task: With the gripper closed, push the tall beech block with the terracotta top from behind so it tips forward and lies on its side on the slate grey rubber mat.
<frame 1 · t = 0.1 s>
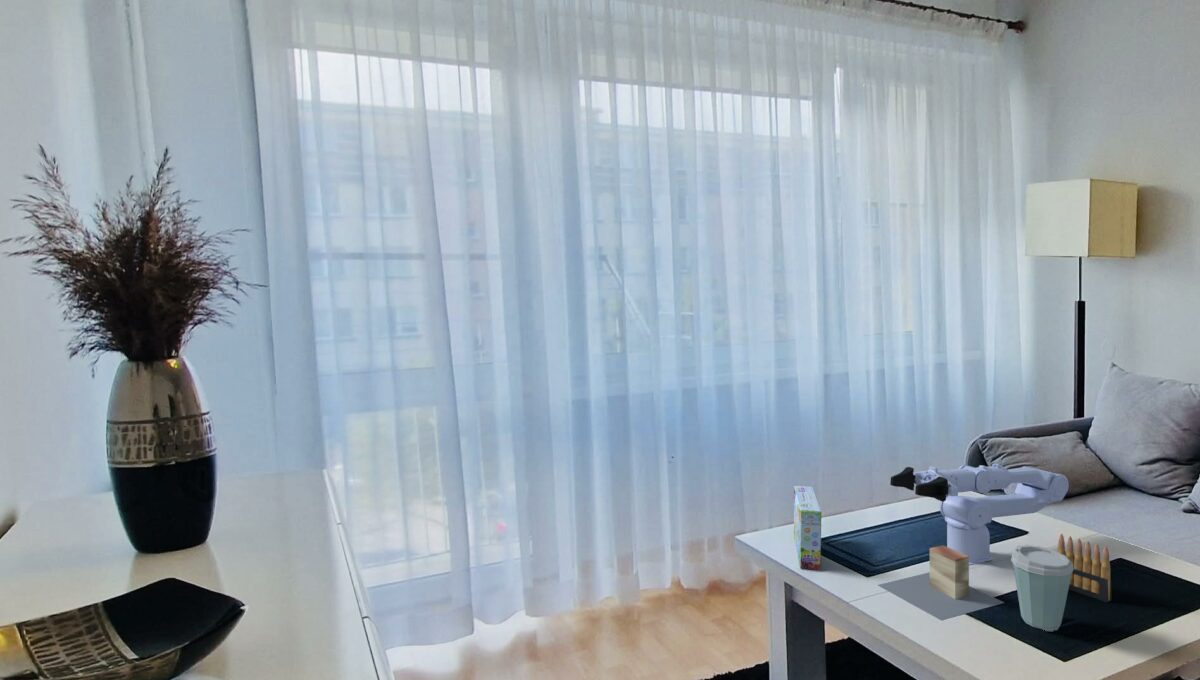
hand: (903, 485, 161), 22 cm above the table, tool horizontal, fingers open, 7 cm apart
ammunition clip: (1082, 593, 150), on the table
snack box: (807, 553, 177), on the table
beech block: (948, 590, 152), resting on rubber mat
disposable coffee cup: (1041, 625, 137), on the table
rubber mat: (938, 595, 151), on the table
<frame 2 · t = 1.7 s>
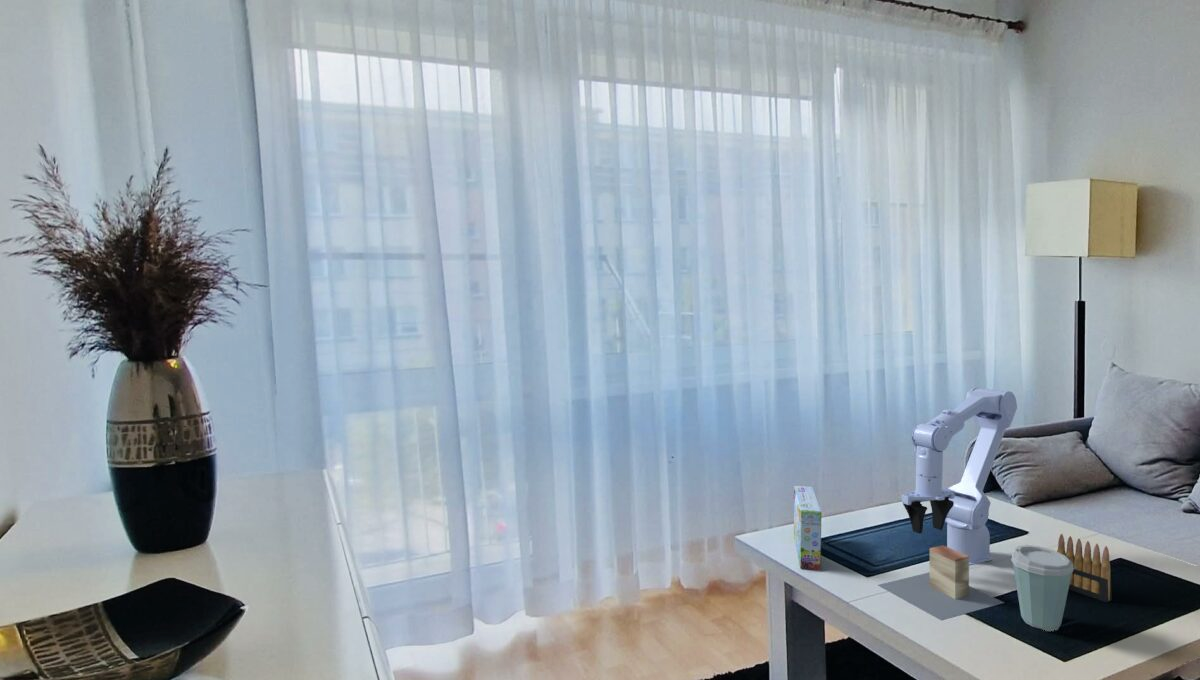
hand: (927, 530, 162), 10 cm above the table, tool pointing down, fingers open, 6 cm apart
nothing on the table moved.
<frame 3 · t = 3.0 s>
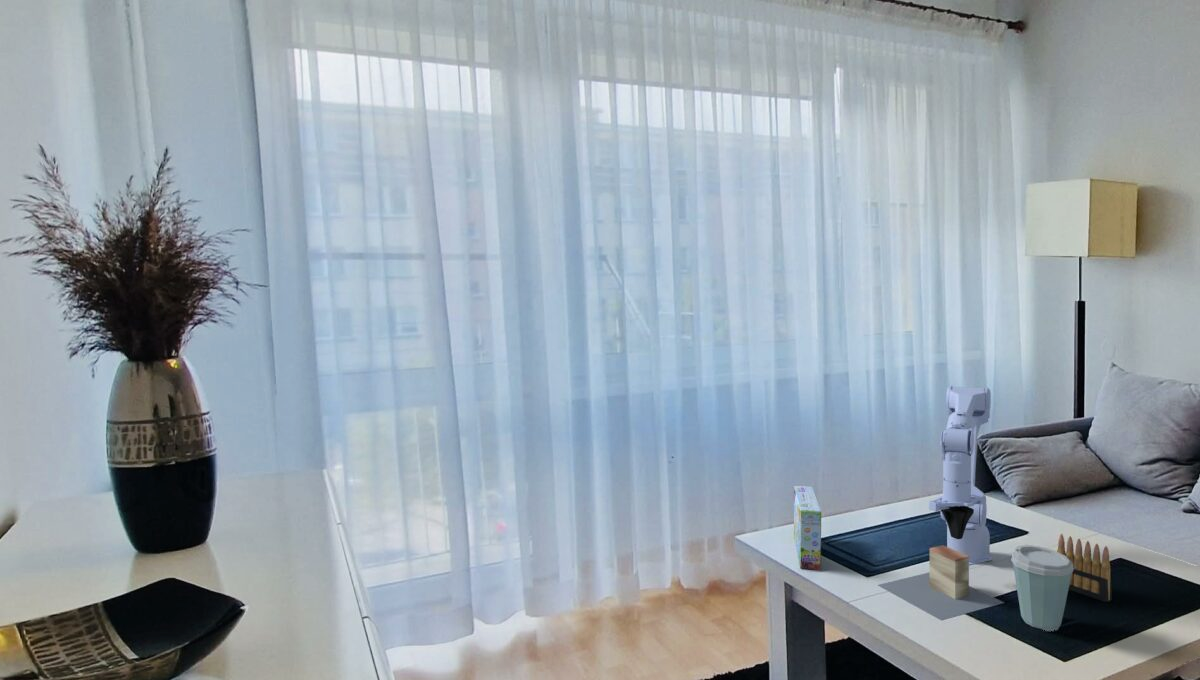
hand: (956, 537, 156), 10 cm above the table, tool pointing down, fingers closed
nothing on the table moved.
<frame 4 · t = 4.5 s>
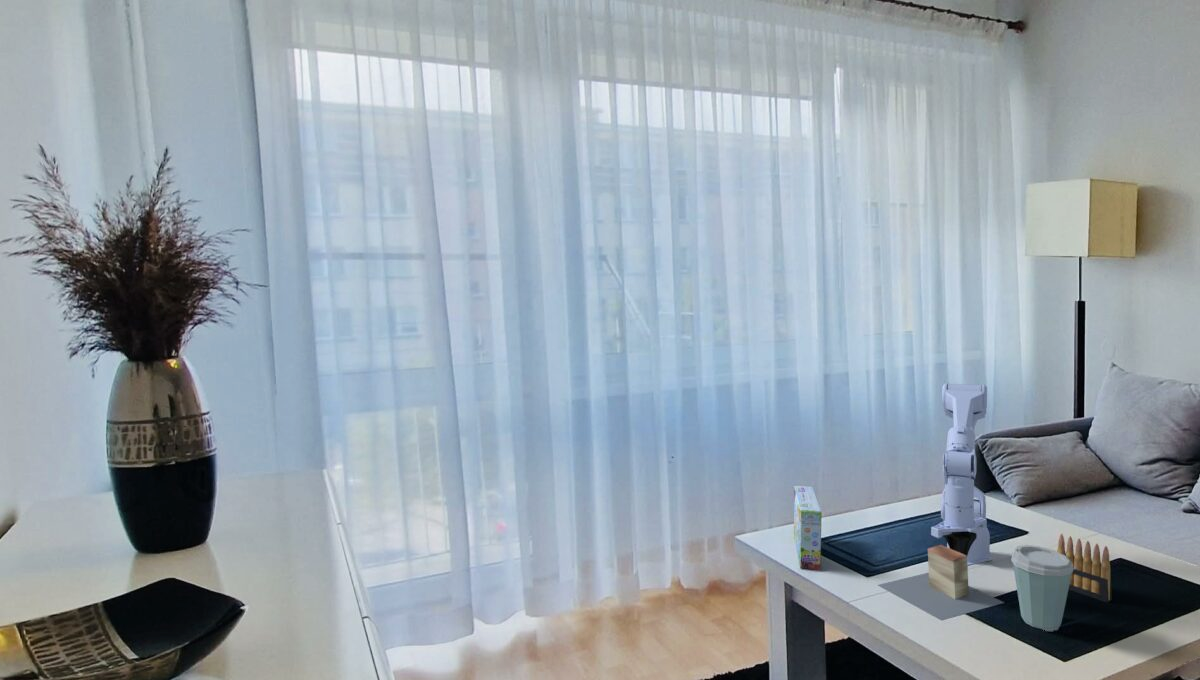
hand: (959, 562, 152), 6 cm above the table, tool pointing down, fingers closed
beech block: (948, 590, 152), point 1 cm above the table, touching gripper, rubber mat
everything else where it was.
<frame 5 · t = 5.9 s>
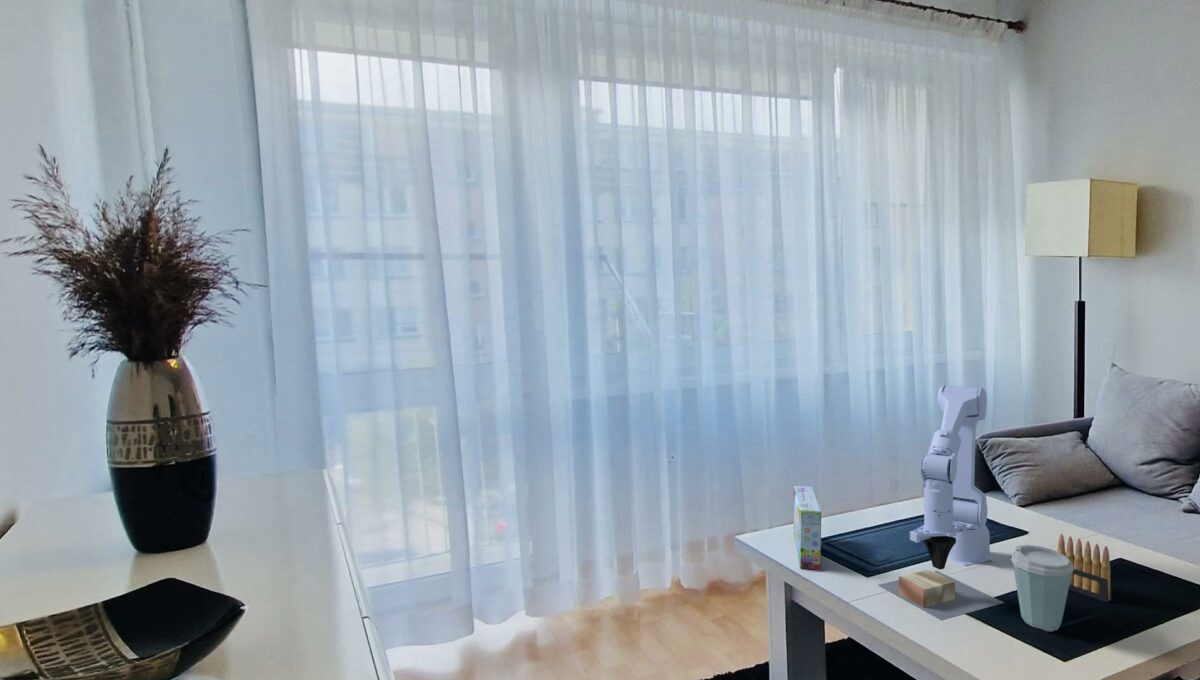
hand: (938, 567, 150), 6 cm above the table, tool pointing down, fingers closed
beech block: (942, 584, 151), point 2 cm above the table, tilted 90°, touching rubber mat
everything else where it was.
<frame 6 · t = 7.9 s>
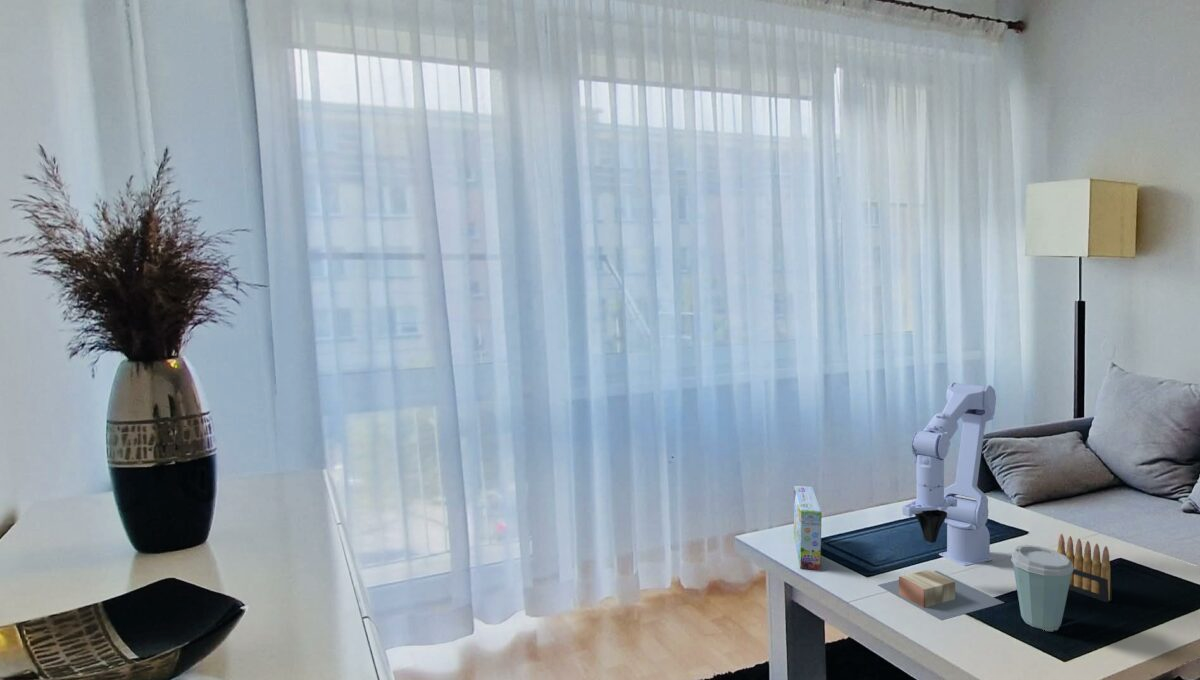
hand: (930, 540, 156), 10 cm above the table, tool pointing down, fingers closed
nothing on the table moved.
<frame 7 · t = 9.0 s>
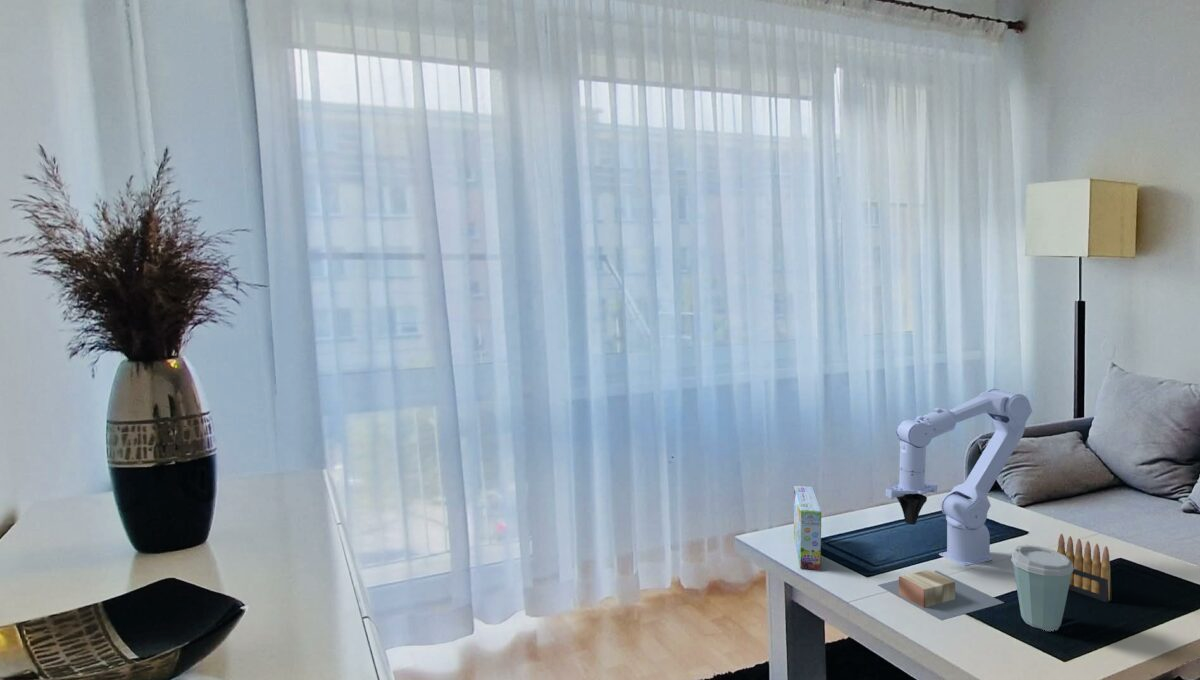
hand: (910, 523, 167), 10 cm above the table, tool pointing down, fingers closed
nothing on the table moved.
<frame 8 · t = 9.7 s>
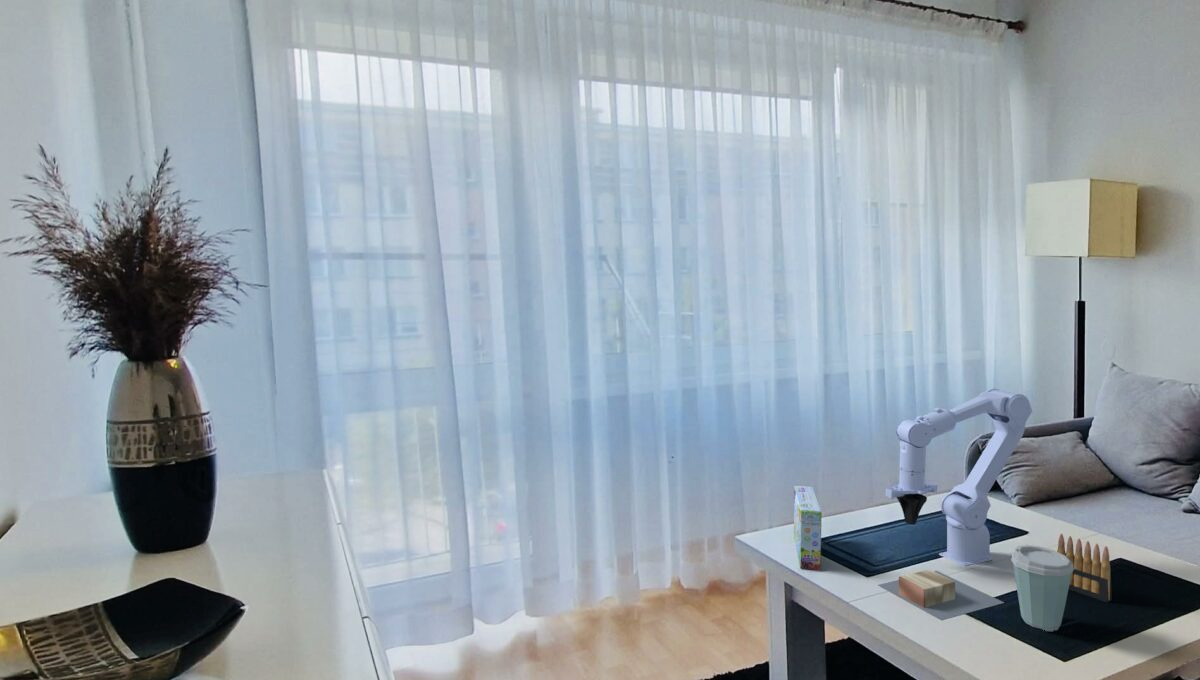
hand: (910, 523, 167), 10 cm above the table, tool pointing down, fingers closed
nothing on the table moved.
at the end: beech block tilted 90°; beech block touching rubber mat; beech block inside the target area (2.5 cm from its centre), point 2.4 cm above the table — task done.
